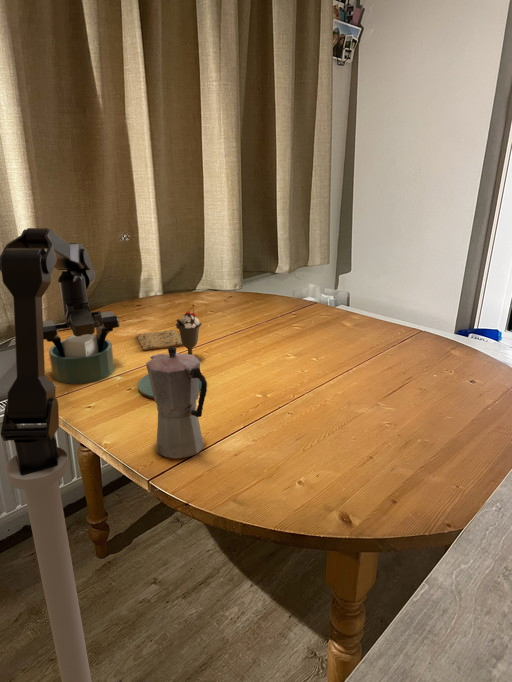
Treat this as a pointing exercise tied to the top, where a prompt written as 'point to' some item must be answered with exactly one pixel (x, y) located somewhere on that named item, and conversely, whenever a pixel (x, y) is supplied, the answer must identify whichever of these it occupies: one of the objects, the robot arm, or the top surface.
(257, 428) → the top surface
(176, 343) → the cookie
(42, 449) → the robot arm
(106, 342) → the pot
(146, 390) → the lid
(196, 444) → the moka pot
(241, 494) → the top surface
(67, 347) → the product box
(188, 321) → the sundae
